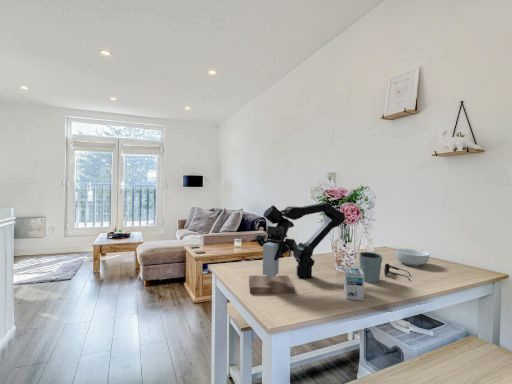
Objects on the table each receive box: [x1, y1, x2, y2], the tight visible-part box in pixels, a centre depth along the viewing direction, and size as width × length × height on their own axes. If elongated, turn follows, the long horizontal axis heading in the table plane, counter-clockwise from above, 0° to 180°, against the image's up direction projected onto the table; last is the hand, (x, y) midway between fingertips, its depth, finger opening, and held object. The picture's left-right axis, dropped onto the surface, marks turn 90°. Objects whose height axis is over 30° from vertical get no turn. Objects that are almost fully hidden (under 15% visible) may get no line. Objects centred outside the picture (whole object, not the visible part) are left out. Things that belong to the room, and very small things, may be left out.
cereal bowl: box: [394, 248, 430, 267], centre depth 159 cm, size 17×17×7 cm
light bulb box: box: [343, 264, 365, 301], centre depth 114 cm, size 11×7×11 cm, turn 168°
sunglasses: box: [383, 263, 412, 281], centre depth 138 cm, size 11×12×5 cm
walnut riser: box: [248, 275, 295, 294], centre depth 121 cm, size 18×14×2 cm
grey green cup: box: [358, 251, 383, 284], centre depth 132 cm, size 10×10×12 cm
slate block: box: [262, 242, 280, 277], centre depth 121 cm, size 5×5×13 cm
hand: (269, 259), depth 120 cm, fingers closed on slate block, 5 cm apart
